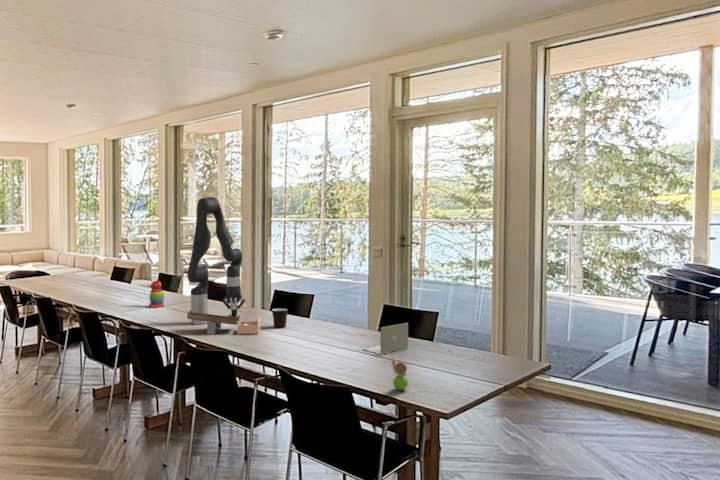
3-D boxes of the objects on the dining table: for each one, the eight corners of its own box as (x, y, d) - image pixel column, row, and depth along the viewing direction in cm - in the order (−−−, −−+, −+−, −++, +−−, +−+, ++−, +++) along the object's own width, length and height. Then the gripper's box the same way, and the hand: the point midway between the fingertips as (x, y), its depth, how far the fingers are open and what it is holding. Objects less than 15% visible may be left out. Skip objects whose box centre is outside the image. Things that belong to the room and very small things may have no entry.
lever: (193, 315, 322) (194, 307, 322) (240, 321, 323) (241, 313, 323) (186, 320, 308) (187, 312, 308) (236, 326, 309) (237, 318, 309)
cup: (239, 330, 318) (239, 315, 318) (260, 330, 319) (260, 315, 319) (236, 334, 308) (236, 319, 307) (258, 334, 308) (258, 319, 308)
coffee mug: (284, 329, 322) (284, 311, 322) (269, 328, 324) (269, 310, 323) (291, 325, 334) (291, 307, 333) (277, 324, 335) (276, 307, 335)
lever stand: (213, 328, 324) (213, 316, 324) (220, 328, 324) (220, 316, 324) (207, 334, 307) (207, 322, 307) (215, 334, 307) (214, 322, 307)
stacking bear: (148, 305, 399) (148, 280, 398) (164, 305, 402) (164, 279, 401) (148, 308, 389) (147, 281, 388) (164, 307, 392) (163, 281, 391)
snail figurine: (395, 386, 218) (395, 354, 217) (410, 389, 214) (410, 357, 214) (387, 390, 213) (388, 357, 213) (403, 393, 210) (403, 360, 209)
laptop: (389, 345, 286) (390, 318, 286) (408, 349, 277) (408, 322, 276) (362, 350, 275) (362, 323, 274) (380, 355, 265) (380, 327, 264)
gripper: (246, 284, 323) (247, 315, 324) (222, 284, 323) (223, 315, 323) (244, 285, 316) (245, 317, 316) (220, 286, 315) (220, 317, 316)
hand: (234, 316), depth 320 cm, fingers closed
